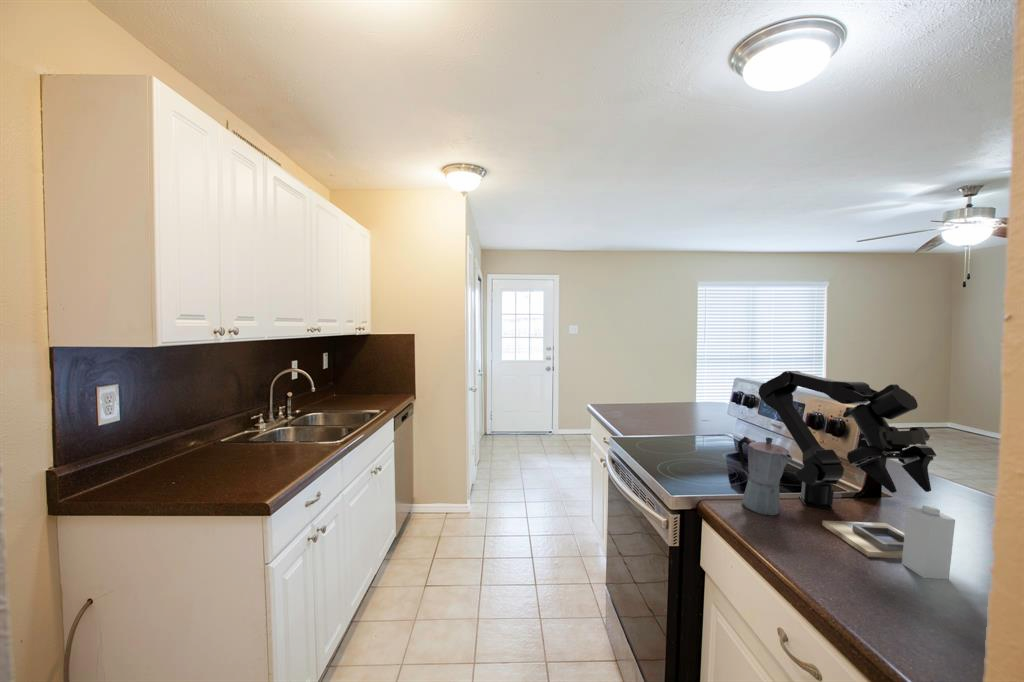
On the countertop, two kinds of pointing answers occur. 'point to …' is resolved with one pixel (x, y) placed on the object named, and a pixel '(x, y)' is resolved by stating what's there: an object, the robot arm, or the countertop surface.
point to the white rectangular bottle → (928, 542)
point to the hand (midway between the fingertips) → (911, 491)
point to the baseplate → (870, 537)
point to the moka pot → (763, 475)
